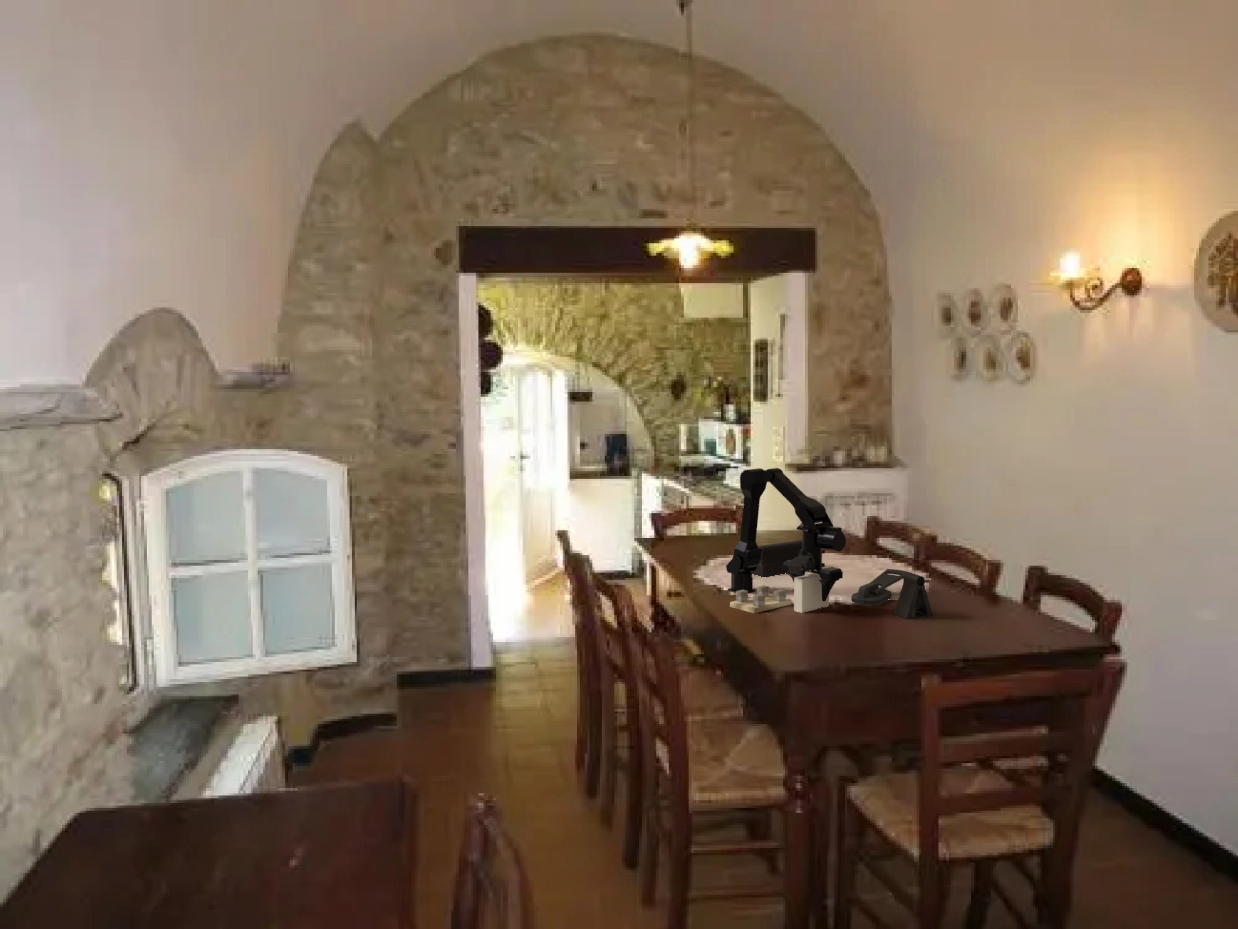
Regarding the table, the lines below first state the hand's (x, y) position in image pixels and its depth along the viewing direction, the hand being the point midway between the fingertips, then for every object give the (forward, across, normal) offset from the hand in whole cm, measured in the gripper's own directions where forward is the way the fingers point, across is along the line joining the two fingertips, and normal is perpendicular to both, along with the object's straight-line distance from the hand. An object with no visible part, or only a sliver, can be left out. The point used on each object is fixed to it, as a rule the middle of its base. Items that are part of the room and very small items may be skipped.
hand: (811, 598), depth 289 cm
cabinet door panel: (+3, 0, 0) cm, 3 cm away
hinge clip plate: (+3, -12, -9) cm, 15 cm away
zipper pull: (+3, +5, +26) cm, 27 cm away
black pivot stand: (+3, +24, +16) cm, 29 cm away
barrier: (+4, -40, +31) cm, 51 cm away
